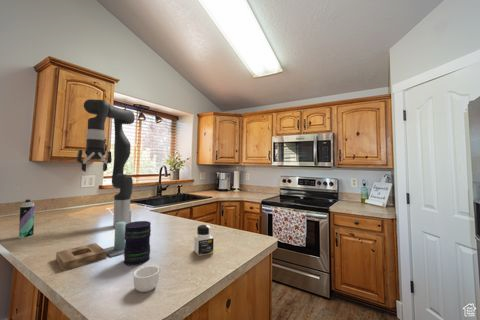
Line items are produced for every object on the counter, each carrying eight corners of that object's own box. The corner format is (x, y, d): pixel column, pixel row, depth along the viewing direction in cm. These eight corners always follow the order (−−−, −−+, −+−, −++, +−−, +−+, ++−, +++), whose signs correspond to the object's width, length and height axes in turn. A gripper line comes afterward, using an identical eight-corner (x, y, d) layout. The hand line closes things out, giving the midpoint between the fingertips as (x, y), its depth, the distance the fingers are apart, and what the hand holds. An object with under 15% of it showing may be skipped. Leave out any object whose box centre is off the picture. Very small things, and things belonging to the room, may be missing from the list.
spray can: (16, 237, 111) (18, 199, 112) (30, 234, 116) (31, 198, 117) (22, 239, 109) (23, 200, 110) (35, 236, 114) (37, 199, 115)
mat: (126, 244, 105) (126, 242, 105) (136, 250, 98) (136, 248, 98) (101, 250, 97) (101, 249, 97) (110, 257, 90) (110, 256, 90)
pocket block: (95, 249, 98) (95, 243, 98) (106, 258, 89) (106, 251, 89) (55, 259, 87) (56, 252, 87) (63, 270, 78) (64, 262, 78)
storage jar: (132, 268, 81) (133, 229, 81) (118, 261, 86) (119, 224, 87) (155, 258, 89) (156, 223, 90) (141, 253, 95) (142, 219, 95)
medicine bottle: (198, 256, 92) (198, 228, 93) (193, 250, 99) (194, 224, 99) (213, 253, 96) (214, 226, 96) (208, 247, 102) (208, 223, 102)
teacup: (146, 298, 63) (146, 279, 63) (127, 292, 66) (127, 274, 66) (168, 281, 72) (169, 265, 73) (151, 276, 75) (151, 261, 75)
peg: (122, 246, 101) (123, 221, 101) (126, 248, 98) (127, 222, 98) (112, 248, 97) (113, 222, 97) (116, 251, 94) (117, 224, 95)
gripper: (108, 141, 114) (107, 171, 113) (76, 138, 103) (74, 171, 102) (114, 140, 109) (113, 171, 108) (80, 137, 98) (79, 171, 97)
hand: (94, 171), depth 105 cm, fingers open, 8 cm apart
